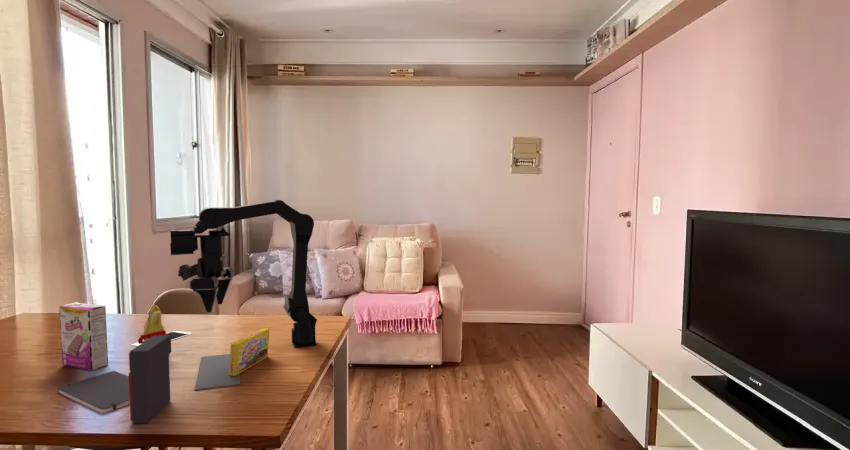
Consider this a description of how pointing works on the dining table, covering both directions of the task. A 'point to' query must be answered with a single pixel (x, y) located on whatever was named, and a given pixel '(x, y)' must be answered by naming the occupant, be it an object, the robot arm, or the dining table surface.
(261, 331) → the candy box
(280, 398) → the dining table surface
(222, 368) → the mat
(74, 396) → the notebook
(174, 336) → the cell phone
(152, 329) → the chocolate bunny
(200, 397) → the dining table surface
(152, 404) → the dark grey upright slab
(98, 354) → the candy bar box
